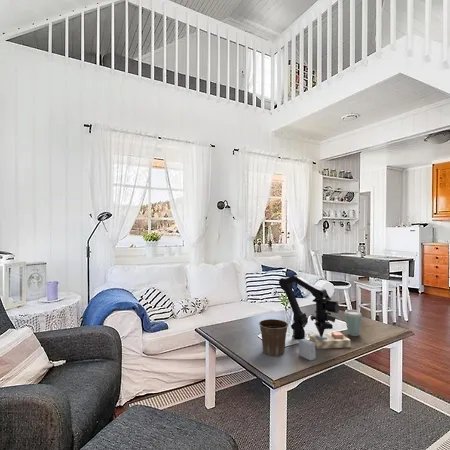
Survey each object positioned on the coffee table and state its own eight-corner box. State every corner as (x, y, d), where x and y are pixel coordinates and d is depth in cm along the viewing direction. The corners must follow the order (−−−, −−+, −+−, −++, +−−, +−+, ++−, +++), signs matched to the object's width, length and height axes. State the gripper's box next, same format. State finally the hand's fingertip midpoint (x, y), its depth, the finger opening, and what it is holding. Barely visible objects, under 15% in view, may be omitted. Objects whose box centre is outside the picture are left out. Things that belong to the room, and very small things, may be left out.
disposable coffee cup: (365, 336, 195) (365, 312, 195) (352, 338, 192) (351, 314, 192) (354, 330, 205) (353, 308, 205) (340, 332, 202) (340, 310, 202)
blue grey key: (319, 342, 180) (319, 337, 180) (315, 339, 185) (315, 334, 185) (327, 342, 180) (327, 337, 180) (323, 339, 185) (323, 334, 185)
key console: (317, 348, 176) (317, 341, 176) (309, 341, 188) (309, 334, 188) (350, 346, 178) (350, 340, 178) (340, 339, 190) (340, 332, 190)
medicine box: (315, 358, 163) (315, 342, 163) (309, 360, 161) (309, 344, 161) (304, 353, 170) (304, 338, 170) (298, 355, 167) (298, 339, 167)
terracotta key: (335, 340, 181) (335, 335, 181) (331, 337, 186) (331, 332, 186) (343, 339, 181) (343, 334, 181) (339, 336, 186) (339, 331, 186)
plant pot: (294, 355, 168) (293, 326, 168) (268, 360, 162) (267, 329, 162) (278, 344, 183) (278, 317, 183) (254, 348, 177) (254, 321, 177)
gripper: (341, 313, 174) (341, 341, 174) (327, 305, 193) (327, 330, 193) (322, 314, 173) (322, 342, 173) (310, 306, 192) (310, 330, 192)
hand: (321, 336), depth 183 cm, fingers closed, pressing on blue grey key
